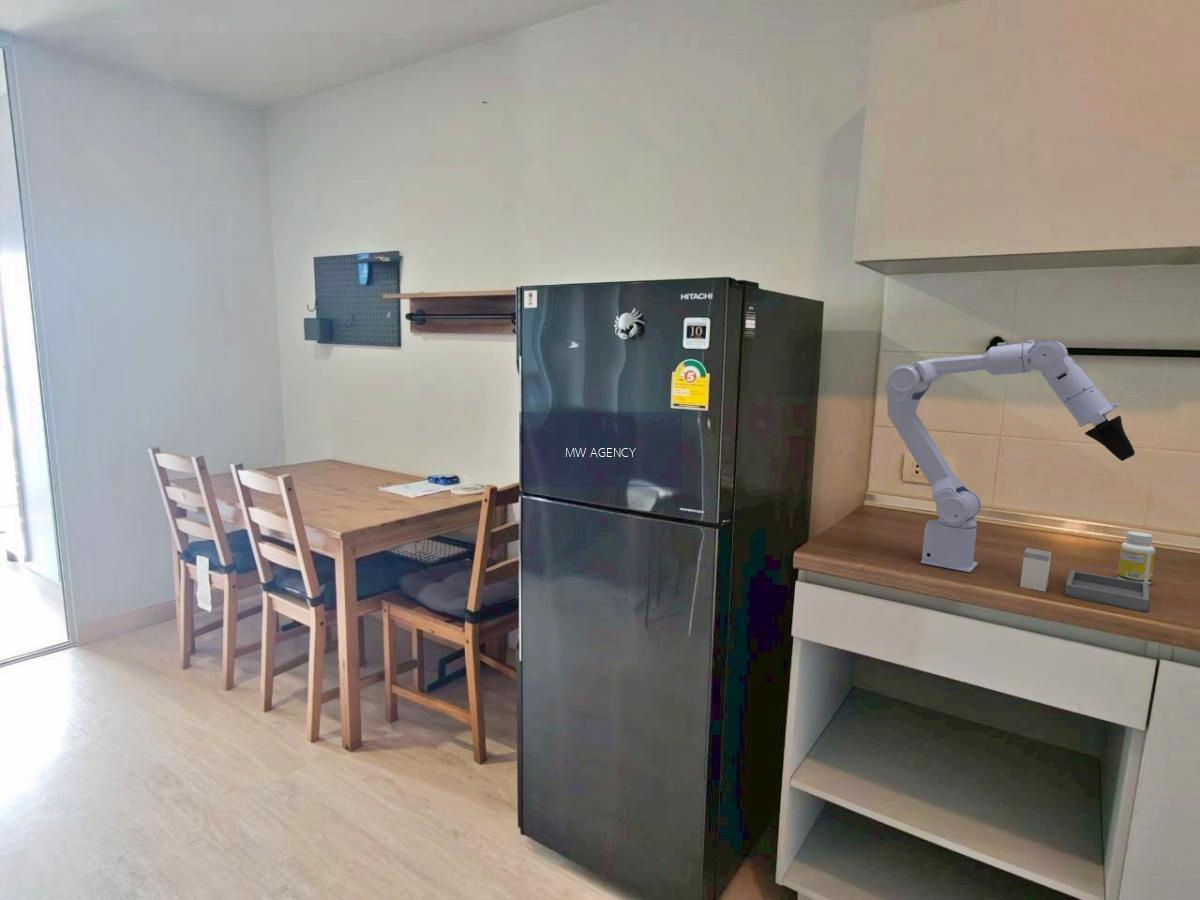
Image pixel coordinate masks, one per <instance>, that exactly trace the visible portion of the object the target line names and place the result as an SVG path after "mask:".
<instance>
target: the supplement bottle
mask: <svg viewBox="0 0 1200 900" xmlns="http://www.w3.org/2000/svg"><path fill="white" fill-rule="evenodd" d="M1125 537H1126V540H1127V541H1125V542H1123V543H1121V545H1120V549H1119V550H1120V551H1119V559H1118V566H1117V567H1118V568H1117V577H1116V578H1119V579H1124V580H1130V581H1136V582H1141V583H1147V584H1148V586H1150V585H1151V584H1152V581H1153V572H1154V565H1155V556H1156V548H1155V547H1154V546H1153V545H1151V543H1152V542H1153V535H1152V534H1151V533H1148V532H1147V533H1146V532H1141V531H1135V530H1134V531H1127V532H1126V536H1125Z"/></svg>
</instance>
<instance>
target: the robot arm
mask: <svg viewBox="0 0 1200 900" xmlns="http://www.w3.org/2000/svg"><path fill="white" fill-rule="evenodd" d="M910 364H911V365H909V364H900V365H897V366H896V367H894V368H893V369H892V370H891V371H890V373H889V374H888V377H887V379H886V382H885V385H884V388H885V389H886V393H887V394H886V396H887V397H886V402H887V404H886V405H887V406H886V407H887V409H886V412H887V416H888V418H889V420H890V421H891V423H892V425H893V427H894V428H895V430H896V431H897V432H898V435H899V436H900V438H901V440H902V442H903V443H904V444H905V446H906V447H907V449H908V451H909V452H910V454H911V456H912V457H913V459H914V461H915V462H916V464H917V466H918V467H919V469H920V470H921V472H922V474H923V475H924V477H925V479H926V480H927V482H928V483H929V485H930V487H931V497H932V499H933V501H934V502H935V508H936V509H935V510H936V513H937V516H938V519H937V520H935V519H934V520H932V519H928V521H927V522H926V524H925V528H924V535H923V540H922V541H923V542H922V553H921V560H920V563H921V564H925V565H930V566H935V567H939V568H944V569H950V570H956V571H961V572H966V573H971V572H973V570H974V569H975V568H976V567H977V565H978V563H979V562H977V561H974V555H975V546H976V538H977V536H976V535H977V526H978V523H977V522H976V520H975V519H976V518H975V517H977V515H978V514H979V513H980V512H981V508H982V502H981V500H980V497H979V496H978V494H976V493H975V492H974V491H972V490H970V489H969V488H968V487H967V485H966V484H965V482H964V481H963V480H961V479H960V478H959V477H958V476H957V475H956V474H955V473H954V471H953V469H952V468H951V466H950V465H949V463H948V461H947V460H946V459H945V457H944V455H943V454H942V452H941V451H940V449H939V448H938V446H937V444H936V443H935V440H934V439H933V438H932V436H931V435H930V433H929V431H928V430H927V428H926V426H925V425H924V423H923V422H922V420H921V419H920V417H919V415H918V414H917V409H918V407H919V405H920V401H921V398H923V396H924V395H925V394H926V392H928V390H930V388H931V386H932V383H933V382H938V381H939V380H940V379H942V377H944V376H946V375H950V374H951V375H952V374H959V373H968V372H977V371H983V370H984V371H986V372H988V373H989V374H990V375H991V376H1000V375H1001V376H1002V375H1015V374H1016V375H1017V374H1027V373H1031V372H1032V371H1033V370H1035V371H1038V372H1040V374H1041V375H1042V376H1043V378H1044V379H1045V380H1046V381H1047V385H1048V386H1049V387H1050V389H1051V390H1052V391H1053V393H1055V395H1056V396H1057V397H1058V399H1059V400H1060V401H1061V402H1062V403H1063V405H1064V406H1065V408H1066V409H1067V410H1068V412H1070V415H1072V416H1073V417H1074V419H1075V420H1076V421H1077V425H1078V426H1079V427H1080V428H1081V427H1082V428H1083V427H1084V426H1086V425H1089V424H1091V425H1092V427H1093V428H1091V429H1090V430H1087V431H1085V432H1084V434H1085V435H1086V436H1087V437H1090V438H1091V439H1094V440H1095V441H1097V442H1098V443H1100V444H1101V446H1103V447H1105V449H1107V450H1108V451H1109V452H1111V454H1112V455H1113V456H1115V458H1116V459H1118V460H1120V461H1122V462H1123V461H1125V460H1128V459H1129V458H1131V457H1133V456H1135V453H1136V452H1135V449H1134V447H1133V445H1132V443H1131V441H1130V440H1129V438H1128V436H1127V434H1126V432H1125V428H1124V427H1123V426H1124V425H1123V424H1122V423H1123V422H1122V417H1121V416H1120V415H1117V416H1116V417H1114V418H1112V419H1109V418H1108V417H1107V415H1108V414H1109V413H1111V412H1112V411H1114V410H1115V409H1116V408H1118V407H1120V406H1121V404H1120V403H1119V401H1118V402H1116V403H1113V404H1112V405H1111V403H1110V402H1109V401H1108V399H1106V397H1105V396H1104V395H1103V394H1102V392H1100V390H1099V389H1098V388H1097V387H1096V385H1095V384H1094V383H1093V381H1092V380H1091V379H1090V378H1089V376H1088V375H1087V374H1086V373H1085V371H1084V370H1083V369H1082V368H1081V367H1080V366H1079V365H1078V364H1076V361H1075V359H1073V358H1072V357H1071V356H1069V352H1068V349H1067V347H1066V346H1065V345H1064V344H1063V343H1061V342H1059V341H1056V340H1052V339H1043V340H1040V341H1037V342H1036V343H1035V340H1034V339H1028V340H1027V342H1023V343H1014V344H1013V343H1012V344H1007V342H997V345H996V346H991V347H990V348H989V349H987V351H986V352H985V353H983V354H974V355H973V354H972V355H962V356H960V355H959V356H950V357H949V356H948V357H938V358H937V357H935V358H930V359H929V358H928V359H925V360H919V361H915V362H912V363H910Z"/></svg>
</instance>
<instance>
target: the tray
mask: <svg viewBox="0 0 1200 900" xmlns="http://www.w3.org/2000/svg"><path fill="white" fill-rule="evenodd" d="M1063 594H1064V595H1066V596H1065V597H1067V596H1071V597H1070V598H1072V597H1074V598H1073V599H1077V598H1080V599H1079V600H1082V599H1085V600H1084V601H1087V600H1091V601H1090V602H1092V601H1095V602H1094V603H1097V602H1100V603H1099V604H1102V603H1104V604H1103V605H1107V604H1110V605H1109V606H1112V605H1114V606H1113V607H1117V606H1120V607H1119V608H1122V607H1124V608H1123V609H1127V608H1128V609H1127V610H1132V609H1133V610H1134V611H1138V612H1143V613H1148V610H1149V609H1148V608H1149V603H1150V589H1149V585H1148V584H1147V583H1141V582H1136V581H1130V580H1124V579H1119V578H1117V577H1112V576H1108V575H1107V576H1105V575H1102V574H1094V573H1090V572H1083V571H1078V570H1073V569H1070V572H1069V574H1068V577H1067V580H1066V583H1065V587H1064V593H1063ZM1064 595H1063V596H1064Z"/></svg>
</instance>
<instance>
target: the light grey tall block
mask: <svg viewBox="0 0 1200 900" xmlns="http://www.w3.org/2000/svg"><path fill="white" fill-rule="evenodd" d="M1051 560H1052V551H1047V550H1044V549H1043V550H1042V549H1036V548H1029V547H1026V549H1025V550H1024V553H1023V559H1022V569H1021V577H1020V583H1019V584H1020V586H1019V588H1020V587H1025V588H1029V589H1028V590H1030V588H1031V589H1035V590H1039V591H1038V592H1040V591H1044V592H1043V593H1046V591H1047V589H1046V588H1048V585H1049V584H1048V583H1049V576H1050V567H1051ZM1025 588H1024V589H1025ZM1035 590H1034V591H1035Z"/></svg>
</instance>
